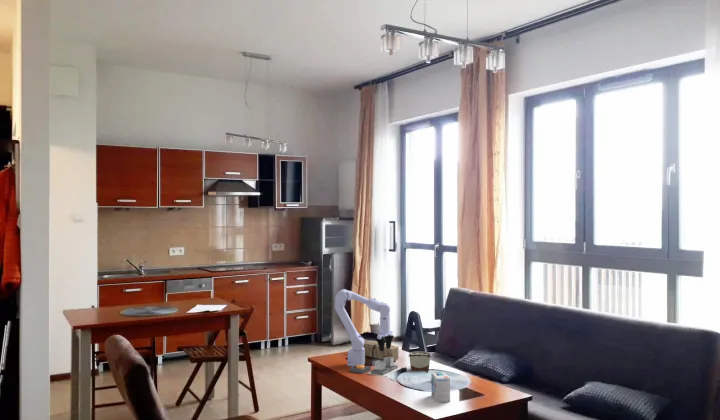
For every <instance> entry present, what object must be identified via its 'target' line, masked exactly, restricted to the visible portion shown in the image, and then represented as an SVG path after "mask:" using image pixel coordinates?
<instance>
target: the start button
mask: <svg viewBox="0 0 720 420" xmlns="http://www.w3.org/2000/svg"><path fill="white" fill-rule="evenodd" d="M355 366H356V368H359V369H363V368H364V366H365V364H364V365H362V364H359V365H355Z"/></svg>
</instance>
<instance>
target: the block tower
mask: <svg viewBox="0 0 720 420" xmlns="http://www.w3.org/2000/svg"><path fill="white" fill-rule="evenodd" d="M364 340H365V344H364V346H363V347H364V349H365V357H369V358H374V359H378V360H382V361H384V358H386V357H393V358H394V362H395V361H398V359H399V346H397V345H394V344H391V347H390V349H389V348H386V343H385V345H384V351H380V349H379V345H378V342H376V341H372V340H367V339H364Z"/></svg>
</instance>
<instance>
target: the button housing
mask: <svg viewBox="0 0 720 420" xmlns="http://www.w3.org/2000/svg"><path fill="white" fill-rule="evenodd" d="M349 372H350V373H357V374H363V375H364V374H367V373H369V372H371V365H370V366H368V365H364V368H363V369H359V368H356V365H355V366H350V368H349Z"/></svg>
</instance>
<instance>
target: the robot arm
mask: <svg viewBox="0 0 720 420" xmlns="http://www.w3.org/2000/svg"><path fill="white" fill-rule="evenodd" d="M353 300H354V301H357V302H359V303H361V304H364V305H366V306H367V308H368V309H370V310H373V311H376V312H377V313H378V312H379V333H378V334H377V336H376V337H375V340H376V341H377V342H378V345H379V349H380V351H384V345H385V344H386V348H389V349H390V347H391V345H392V342H393V340H394V338H395V336H394V335H393V331H392V330H391V316H390V315H391V314H390V311H391V306H390V305H389V304H388V303H386V302H384V301H379V300H377V298H375V297H373V298H367V297H365V296H363V295H361V294H358V293H357V292H354V291H351V290H348V289H346V288H343V289H341V290H339V291H338V292H337V293H336V295H335V297H334V310H335V312H336V313H337V315H338V317H339V319H340V321H341V323H342V324H343V327H344V328H345V330H346V332H347V333H348V337H349V340H350V342H351V348H349V350H348V351H347V364H346V366H347V367H354V366H356V365H359V364H362V365H364V366H365V364H366V356H365V349H364V347H363V346H364V344H365V340H366V339H364V337H363V336H361V334H360V333H359V332H358V331H357V329H356V327H355V325H354V323H353V322H352V319H351V318H350V316H349V313H348V312H347V310H346V308H345V306H346V302H347V301H353ZM376 341H375V342H376Z"/></svg>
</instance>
